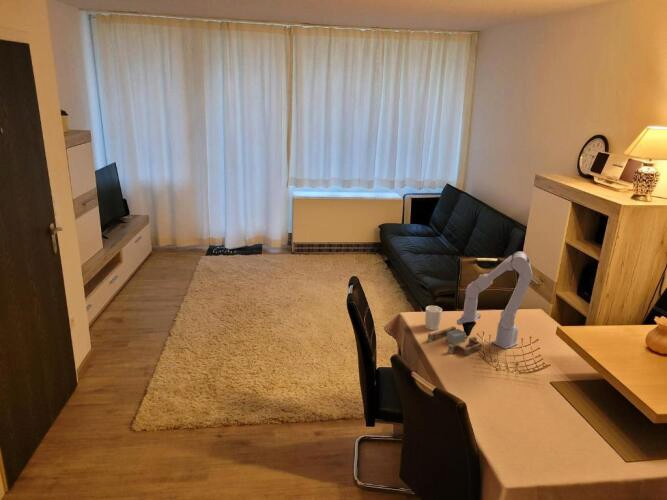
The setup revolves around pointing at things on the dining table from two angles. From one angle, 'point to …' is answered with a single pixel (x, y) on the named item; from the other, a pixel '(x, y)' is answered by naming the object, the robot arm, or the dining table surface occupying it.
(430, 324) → the white cup
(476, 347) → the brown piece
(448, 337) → the block
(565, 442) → the dining table surface
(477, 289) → the robot arm
